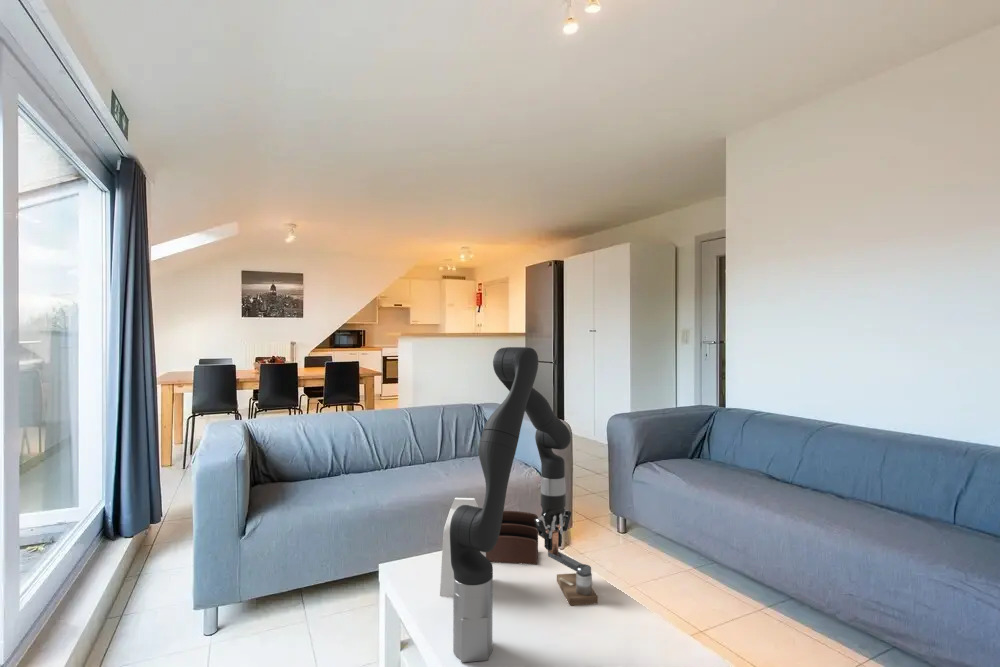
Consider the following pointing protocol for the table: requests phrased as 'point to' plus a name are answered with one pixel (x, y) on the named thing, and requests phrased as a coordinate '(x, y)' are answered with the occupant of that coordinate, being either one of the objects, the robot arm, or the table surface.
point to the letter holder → (516, 539)
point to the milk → (446, 567)
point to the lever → (565, 560)
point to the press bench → (572, 593)
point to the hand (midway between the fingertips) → (553, 547)
